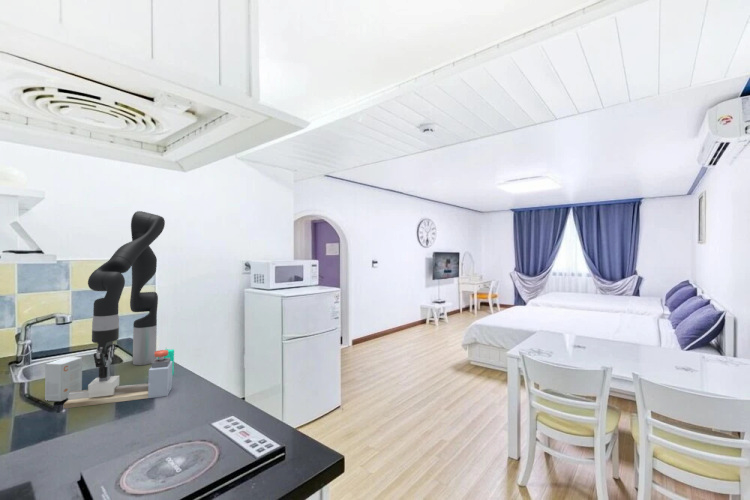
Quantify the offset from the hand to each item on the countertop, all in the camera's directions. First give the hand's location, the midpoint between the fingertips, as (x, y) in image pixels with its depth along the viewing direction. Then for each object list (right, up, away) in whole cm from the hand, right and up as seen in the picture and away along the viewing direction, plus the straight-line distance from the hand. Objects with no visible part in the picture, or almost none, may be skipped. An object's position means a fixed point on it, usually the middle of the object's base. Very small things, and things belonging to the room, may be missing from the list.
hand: (104, 376), depth 122 cm
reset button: (+16, +3, +6) cm, 18 cm away
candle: (+7, -9, +24) cm, 26 cm away
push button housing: (+16, -8, +6) cm, 19 cm away
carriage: (0, -6, 0) cm, 6 cm away
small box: (-16, -8, +2) cm, 18 cm away
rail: (+2, -8, +1) cm, 8 cm away
